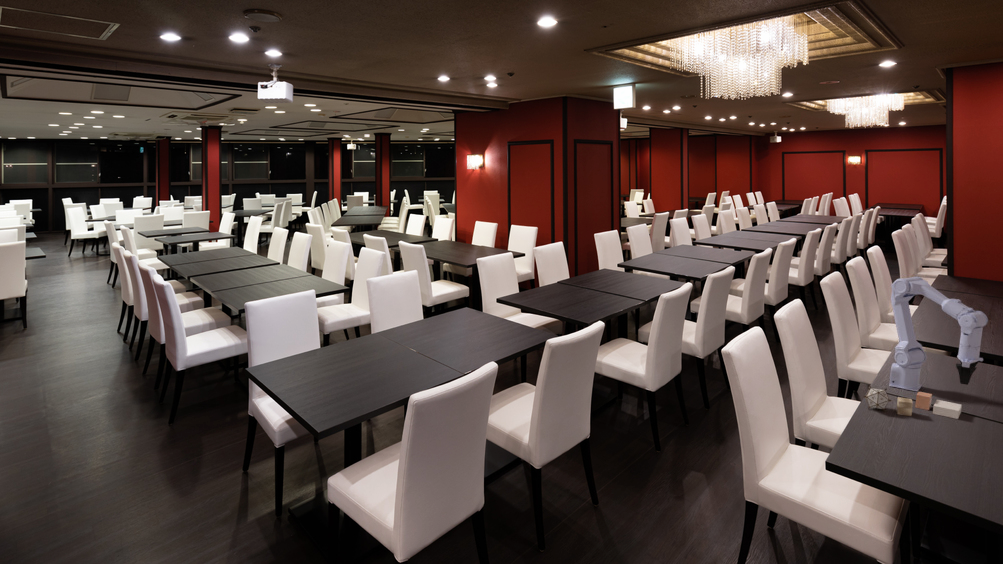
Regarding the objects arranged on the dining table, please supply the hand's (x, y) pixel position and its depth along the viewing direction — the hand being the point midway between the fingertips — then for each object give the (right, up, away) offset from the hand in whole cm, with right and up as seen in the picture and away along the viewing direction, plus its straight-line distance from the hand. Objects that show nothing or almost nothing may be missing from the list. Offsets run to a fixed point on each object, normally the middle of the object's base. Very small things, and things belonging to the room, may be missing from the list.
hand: (965, 380), depth 201 cm
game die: (-31, -11, +3) cm, 33 cm away
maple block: (-24, -11, -2) cm, 26 cm away
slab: (-9, -11, -3) cm, 15 cm away
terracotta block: (-14, -10, +2) cm, 17 cm away
